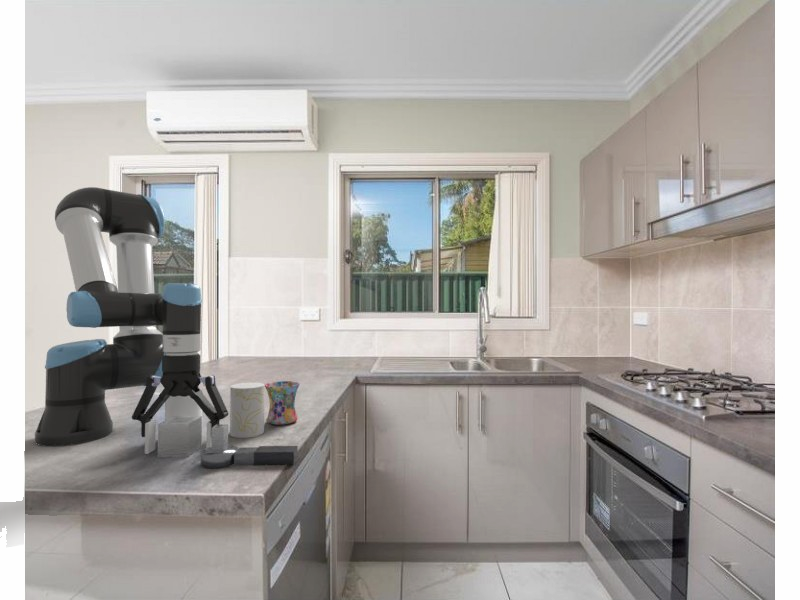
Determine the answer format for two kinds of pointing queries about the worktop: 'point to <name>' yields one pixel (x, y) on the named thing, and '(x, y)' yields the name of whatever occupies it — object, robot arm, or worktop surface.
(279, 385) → the mug
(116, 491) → the worktop surface
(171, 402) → the beverage can
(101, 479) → the worktop surface
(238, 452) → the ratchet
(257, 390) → the cup
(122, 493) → the worktop surface
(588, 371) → the worktop surface
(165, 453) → the brushed cube with inset
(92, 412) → the robot arm
